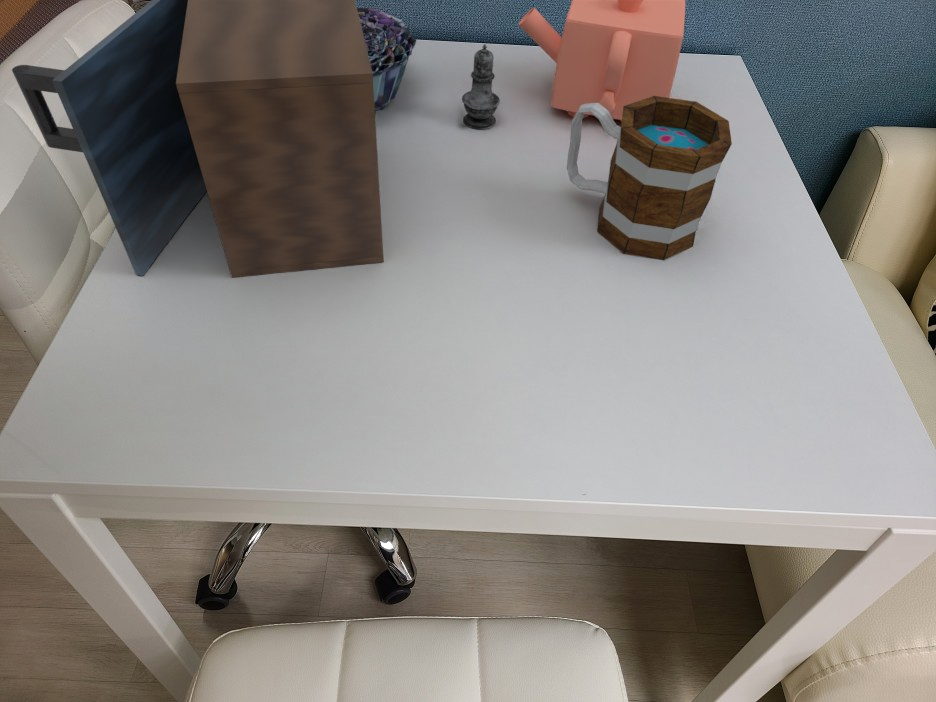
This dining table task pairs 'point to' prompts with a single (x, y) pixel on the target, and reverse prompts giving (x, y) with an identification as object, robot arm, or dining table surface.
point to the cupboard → (284, 131)
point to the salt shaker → (481, 93)
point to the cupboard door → (128, 126)
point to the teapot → (611, 51)
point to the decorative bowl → (385, 52)
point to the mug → (655, 173)
